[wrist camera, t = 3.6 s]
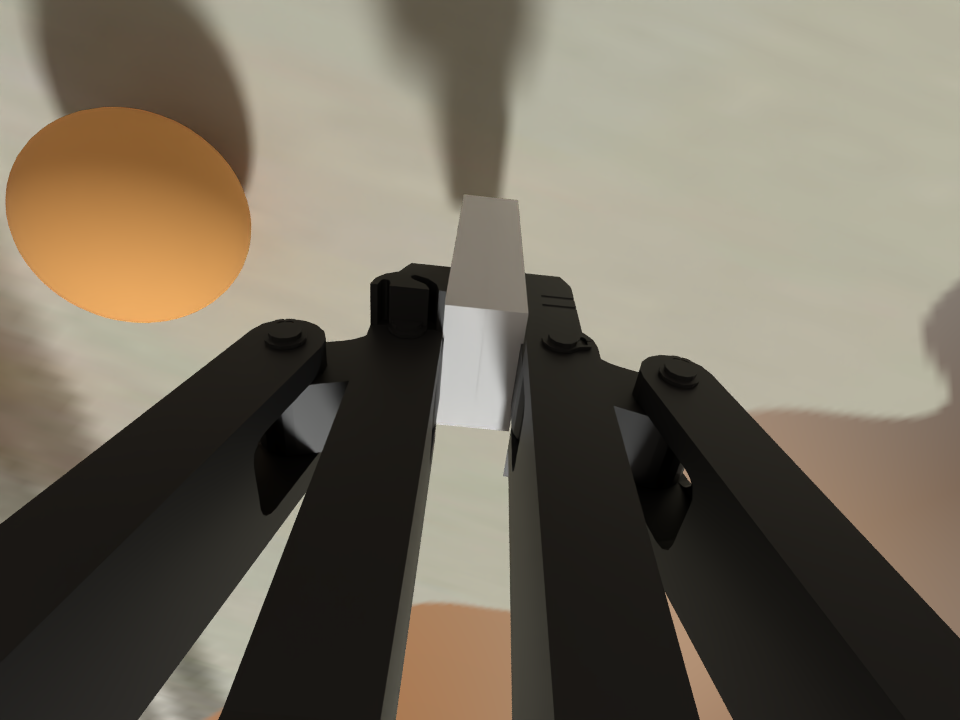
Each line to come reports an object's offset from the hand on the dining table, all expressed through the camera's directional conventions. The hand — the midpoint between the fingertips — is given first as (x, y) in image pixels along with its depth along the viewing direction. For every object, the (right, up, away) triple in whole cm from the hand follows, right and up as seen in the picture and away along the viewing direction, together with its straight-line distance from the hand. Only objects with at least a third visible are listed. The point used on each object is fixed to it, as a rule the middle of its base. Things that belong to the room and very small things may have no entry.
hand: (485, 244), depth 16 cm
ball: (-9, 0, -1) cm, 9 cm away
